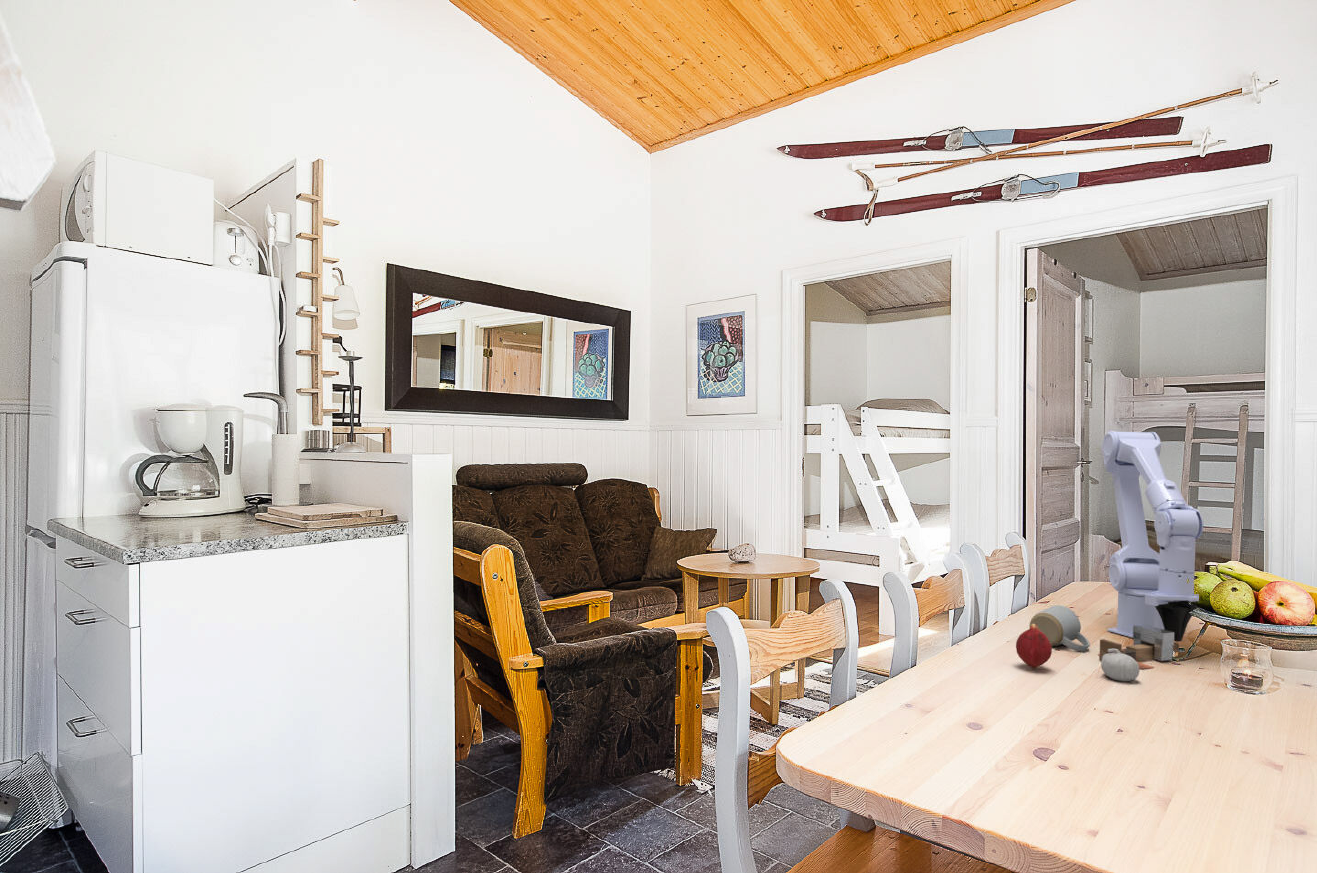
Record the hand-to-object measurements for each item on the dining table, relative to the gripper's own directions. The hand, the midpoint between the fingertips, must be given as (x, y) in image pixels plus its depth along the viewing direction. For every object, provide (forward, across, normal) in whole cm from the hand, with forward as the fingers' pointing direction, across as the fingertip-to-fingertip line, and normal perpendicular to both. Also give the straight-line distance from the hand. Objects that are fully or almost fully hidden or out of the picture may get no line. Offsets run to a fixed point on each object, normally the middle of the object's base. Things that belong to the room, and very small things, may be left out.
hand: (1174, 640), depth 148 cm
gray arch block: (+3, -6, 0) cm, 7 cm away
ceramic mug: (+3, -16, +12) cm, 20 cm away
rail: (+3, -8, 0) cm, 9 cm away
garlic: (+3, -24, -7) cm, 26 cm away
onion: (+3, -34, +2) cm, 35 cm away
